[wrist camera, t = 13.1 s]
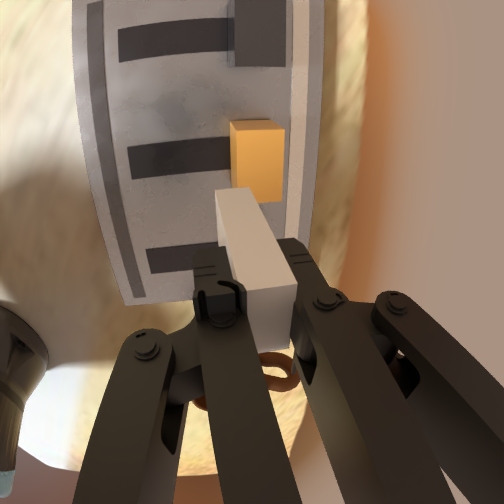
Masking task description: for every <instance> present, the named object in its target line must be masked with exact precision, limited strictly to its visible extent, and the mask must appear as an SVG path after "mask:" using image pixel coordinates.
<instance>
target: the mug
mask: <svg viewBox="0 0 504 504" xmlns="http://www.w3.org/2000/svg"><path fill="white" fill-rule="evenodd" d="M258 355H259V359H260V362H261V366H264V367H279V368H281V369H282V370H284V371H285V372H286V374H287V376H288V377H287V378H280V377H276V376H271V375H266V374H264V377H265V380H266V384H267V387H268V390H272V391H277V392H286V391H290V390H292V389H293V388H295V387H296V386H297V385H298V384H299V382H300V377H299V374H298V371H297V369H296V372H295V375H292V373H291V367H292V362H293V359H292V358H290V357H289V356H287V355H285V354H282V353H277V352H264V353H258ZM192 402H193V404H194V405H195V406H196V407H198V408H199V409H202V410H204V411H207V404H206V397H205V395H203V396H201V397H199V398H196V399H194V400H192Z"/></svg>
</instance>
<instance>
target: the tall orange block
mask: <svg viewBox="0 0 504 504" xmlns="http://www.w3.org/2000/svg"><path fill="white" fill-rule="evenodd" d="M284 138H285V129H284V128H282V127H281V126H279V125H278V124H277V123H275V122H274V121H272V120H243V121H230V155H231V186H232V188H242V187H249V188H250V190H251V191H252V193H253V195H254V197H255V199H256V201H257V203H265V202H279V201H282V186H283V164H284Z"/></svg>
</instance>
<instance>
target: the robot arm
mask: <svg viewBox="0 0 504 504" xmlns="http://www.w3.org/2000/svg"><path fill="white" fill-rule="evenodd" d="M215 201H216V217H217V232H218V244H219V247H211V248H202V249H197V251H196V252H195V254H194V256H193V258H192V262H193V276H194V288H195V290H194V292H193V297H192V299H193V305H194V311H195V316H194V319H193V320H192V321H191V322H190V324H188V325H187V326H186V327H185V328H183V329H181V330H179V331H176V332H174V333H171V334H169V335H166V334H165V333H164V332H162V331H160V330H156V329H142V330H139V331H137V332H134V333H133V334H131V335H130V336H129V337H128V338H126V340H125V342H124V343H123V345H122V347H121V349H120V352H119V355H118V357H117V360H116V362H115V365H114V368H113V371H112V373H111V376H110V379H109V382H108V384H107V387H106V390H105V393H104V396H103V399H102V402H101V404H100V407H99V410H98V414H97V417H96V420H95V423H94V426H93V429H92V432H91V436H90V439H89V442H88V446H87V449H86V452H85V456H84V459H83V463H82V467H81V470H80V474H79V479H78V482H77V486H76V490H75V494H74V498H73V503H72V504H173V498H174V491H175V484H176V478H177V471H178V465H179V459H180V452H181V446H182V440H183V434H184V428H185V422H186V416H187V411H188V405H189V401H192V400H194V399H196V398H199V397H201V396H203V395H205V397H206V404H207V411H208V417H209V424H210V430H211V436H212V442H213V448H214V454H215V460H216V465H217V471H218V476H219V481H220V486H221V491H222V496H223V501H224V504H302V501H301V498H300V495H299V491H298V488H297V485H296V482H295V478H294V475H293V472H292V469H291V465H290V462H289V459H288V455H287V452H286V449H285V445H284V442H283V439H282V435H281V432H280V428H279V425H278V422H277V418H276V415H275V411H274V408H273V404H272V401H271V398H270V394H269V391H268V387H267V384H266V380H265V377H264V373H263V370H262V366H261V362H260V359H259V355H258V353H264V352H270V351H276V350H281V349H287V348H289V344H290V337H291V340H292V343H293V345H294V348H295V350H294V356H293V362H292V367H291V373H292V375H295V372H296V369H297V371H298V374H299V377H300V380H301V382H302V385H303V388H304V391H305V393H306V396H307V399H308V402H309V405H310V407H311V410H312V413H313V416H314V418H315V421H316V424H317V427H318V430H319V432H320V435H321V438H322V441H323V444H324V446H325V449H326V452H327V455H328V457H329V460H330V463H331V466H332V468H333V471H334V474H335V477H336V480H337V483H338V485H339V488H340V491H341V494H342V497H343V499H344V502H345V504H456V501H455V499H454V497H453V495H452V492H451V490H450V488H449V486H448V484H447V481H446V479H445V477H444V475H443V473H442V471H441V468H442V469H443V471H444V472H445V473H446V474H447V476H448V477H449V478H450V479H451V480H452V482H453V483H454V484H455V485H456V486H457V488H458V489H459V490H460V491H461V492H462V494H463V495H464V496H465V497H466V498H467V500H468V501H469V502H470V503H471V504H504V388H503V386H502V385H500V383H499V382H498V381H497V380H496V379H495V378H494V377H493V376H492V375H491V374H490V373H489V372H488V371H487V370H486V369H485V368H484V367H483V366H482V365H481V364H480V363H479V362H478V361H477V360H476V359H475V358H474V357H473V356H472V355H471V354H470V353H469V352H468V351H467V350H466V349H465V348H464V347H463V346H462V345H461V344H460V343H459V342H458V341H457V340H456V339H455V338H454V337H452V336H451V335H450V334H449V333H448V332H447V331H446V330H445V329H444V328H443V327H442V326H441V325H440V324H438V322H436V321H435V320H434V319H433V318H432V317H431V316H430V315H429V314H428V313H426V312H425V311H424V310H423V309H422V308H421V307H420V306H419V305H418V304H416V303H415V302H414V301H413V300H412V299H411V298H410V297H408V296H407V295H405V294H403V293H400V292H397V291H385V292H382V293H381V294H379V295H378V296H377V299H376V301H375V303H364V302H352V301H349V300H348V298H347V297H346V296H345V295H344V294H343V293H342V292H341V291H339V290H337V289H335V288H331V287H329V285H328V283H327V282H326V280H325V278H324V277H323V275H322V273H321V272H320V270H319V268H318V267H317V265H316V263H315V262H314V260H313V258H312V257H311V255H309V252H308V250H307V249H306V247H305V245H304V244H303V243H301V242H300V241H298V240H297V239H295V238H294V237H293V238H284V239H275V237H274V235H273V233H272V231H271V229H270V227H269V225H268V223H267V221H266V219H265V217H264V215H263V213H262V211H261V209H260V207H259V205H258V203H257V201H256V199H255V197H254V195H253V193H252V191H251V190H250V188H249V187H242V188H230V189H219V190H215ZM398 350H400V351H401V352H402V353H403V354H404V355H405V356H403V355H400V354H399V353H398ZM47 364H48V352H47V349H46V347H45V345H44V343H43V342H42V340H41V339H40V338H39V336H38V335H37V334H36V333H35V332H34V331H33V329H32V328H31V327H29V326H28V325H27V324H26V323H25V322H24V321H23V320H21V319H20V318H19V317H17V316H16V315H14V314H13V313H11V312H10V311H8V310H6V309H4V308H3V307H0V497H1V498H3V497H7V496H8V495H10V493H11V491H12V484H13V478H14V474H15V473H16V470H15V464H16V455H17V447H18V440H19V434H20V428H21V422H22V417H23V412H24V407H25V403H26V401H27V400H28V398H29V397H30V395H31V394H32V393H33V391H34V390H35V388H36V387H37V385H38V384H39V382H40V381H41V380H42V378H43V377H44V374H45V372H46V368H47ZM440 467H441V468H440Z"/></svg>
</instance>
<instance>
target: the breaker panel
mask: <svg viewBox="0 0 504 504" xmlns="http://www.w3.org/2000/svg"><path fill="white" fill-rule="evenodd" d="M72 50H73V69H74V82H75V93H76V102H77V110H78V118H79V125H80V132H81V139H82V145H83V150H84V156H85V161H86V167H87V172H88V177H89V181H90V186H91V191H92V195H93V199H94V204H95V208H96V212H97V216H98V220H99V223H100V227H101V231H102V235H103V238H104V242H105V245H106V249H107V252H108V255H109V259H110V262H111V265H112V268H113V271H114V275H115V278H116V281H117V284H118V287H119V290H120V292H121V295H122V298H123V301H124V304H125V306H130V305H142V304H154V303H165V302H175V301H185V300H193V299H192V297H193V292H194V290H195V288H194V276H193V262H192V258H193V256H194V254H195V252H196V251H197V249H202V248H211V247H219V244H218V232H217V217H216V201H215V190H219V189H230V188H232V186H231V155H230V121H243V120H272V121H274V122H275V123H277V124H278V125H279V126H281V127H282V128H284V129H285V138H284V164H283V186H282V201H279V202H265V203H258V205H259V207H260V209H261V211H262V213H263V215H264V217H265V219H266V221H267V223H268V225H269V227H270V229H271V231H272V233H273V235H274V237H275V239H284V238H293V237H294V238H295V239H297V240H298V241H300V242H301V243H303V244H304V245H305V247H306V249H307V250H308V246H309V238H310V230H311V221H312V212H313V202H314V192H315V182H316V171H317V159H318V147H319V133H320V119H321V102H322V82H323V55H324V0H72Z"/></svg>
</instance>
